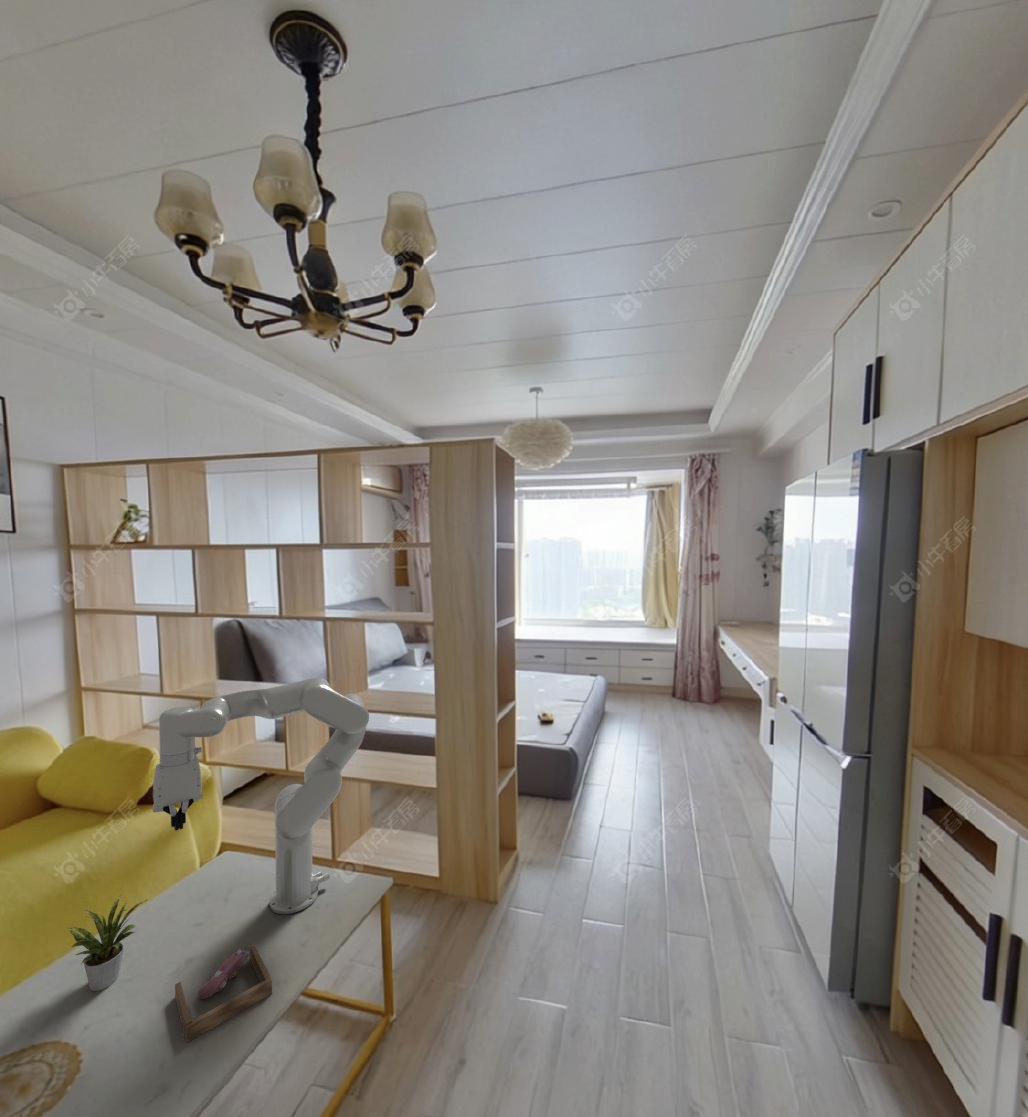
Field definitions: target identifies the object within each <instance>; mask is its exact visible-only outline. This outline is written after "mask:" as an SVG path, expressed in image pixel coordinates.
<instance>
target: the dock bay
mask: <svg viewBox="0 0 1028 1117" xmlns="http://www.w3.org/2000/svg"><path fill="white" fill-rule="evenodd" d="M249 960H250V962H251V963H252V966H253V968H254V970H255V972H256V974H257V977H258V979H259V981H260V982H259V983H258V984H256V985H254V986H252V987H250V988H249V989H246V990H245V991H243V992H241V993H239V994H238V995H236V996H234V997H232V998H231V999H229V1000H226V1001H225V1002H223V1003H221V1004H219V1005H218V1006H216V1007H214V1008H213V1009H210V1010H209V1011H207V1012H206V1013H203V1014H202V1015H200V1016H198V1017H197V1018H195V1019H191V1015H190V1010H189V1008H188V1004H187V1000H186V997H185V993H184V990H183V984H182V981H178V982H176V983H175V984H174V993H175V994H174V995H175V996H174V997H175V998H174V1000H175V1002H176V1006H177V1010H178V1014H179V1019H180V1022H181V1025H182V1026H181V1027H182V1029H183V1034H184V1036H185V1041H186V1043H189V1042H190V1041H192V1040H194V1039H195V1038H197V1037H200V1036H201V1035H202V1034H205V1033H206V1032H208V1031H209V1030H212V1029H213V1028H215V1027H217V1026H218V1025H220V1024H221V1023H224V1022H225V1021H227V1020H229V1019H230V1018H232V1017H235V1016H236V1015H237V1014H239V1013H241V1012H242V1011H244V1010H246V1009H248V1008H250V1007H251V1006H253V1005H255V1004H256V1003H258V1002H259V1001H261V1000H263V999H265V998H266V997H268V996H270V995H272V994H273V979H272V977H271V975H270V973H269V971H268V968H267V967H266V964H265V963H264V961H263V958H262V957H261V954H260V952H259V950H258V948H257V947H256V945H255V944H252V945H250V946H249Z"/></svg>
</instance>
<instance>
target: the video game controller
mask: <svg viewBox="0 0 1028 1117" xmlns="http://www.w3.org/2000/svg"><path fill="white" fill-rule="evenodd" d="M249 956H250V952H247V951H246V950H244V949H240V948H239V949H238V950H236V951H235V952H234V953H233V954H232V955H230V956H228V957H227V958H225V959H224V961H223V962H222V963H221V965H220V966H219V968H218V969H217V970H216V971H215V973H214V974H213V975H212V977H211V978H210V979H209V981H207V982H206V983H205V984H203V985H202V986H201V987H200V988H199V990H198V991H197V995H198V998H199V999H202V1000H205V999H208V998H210V997H212V996H213V995H214V994H215V993H217V992H219V993H220V992H221V991H222V990H223V989H224V988H225V987H226V984H227V983H228V979H229V980H232V979H233V978H235V977H236V976H237V973H238V972H239V970H240V969H241V967H242V966H243V964H244V963H245V962H246V960H247V959H248V957H249Z"/></svg>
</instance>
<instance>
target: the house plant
mask: <svg viewBox="0 0 1028 1117" xmlns="http://www.w3.org/2000/svg"><path fill="white" fill-rule="evenodd" d="M121 896H122V894H120V895H119V896H118V897H117V898H116V899H115V901H114V903H113V905H112V906H111V909H110V911H109V914H108V918H107V922H106V918H105V916H104V915H102V914H101V915H100V916H99V914H97V913H95V912H93V911H90V910H88V909H87V910H86V909H84V910H83V911H84V912H85V913H86V914H88V915H89V916H87V915H86V916H85V917H87V918H89V919H91V920H93V922H94V924H95V927H96V930H97V933H98V935H99V938H100V940H98V939H97V938H96V937H95V936H94V935H93V934H92V932H89V931H88V930H87V929H85V928H81V927H76V926H75V927H74V926H72V927H67V929H69V930H68V931H69V932H70V934H71V935H72V936H73V938H74V940H75V943H73V944H72V946H71V948H74V947H79V946H82V947H84V948H86V949H87V950H84V951H80V952H78V953H76V954H75V956H79V955H86V957H84V958H83V959H82V962H81V963H80V965H82V964H83V965H84V970H85V974H86V978H87V982H88V986H89V989H90V990H91V991H93V992H94V991H95V992H96V991H100V990H104V989H106V988H108V987H109V986H111V985H113V983H115V982H116V981H118V978H119V976H120V971H121V965H122V961H123V954H124V951H125V944H124V943H123V942H122V941H123V940H125V939H126V938H128V937H129V936H130V935H133V934H134V933H136V932H134V931H131V930H132V929H134V928H137V926H136V925H135V924H128V925H127V926H126V927H124V926H125V924H126V923H127V922H128V921H129V920H130V919H131V917H130V918H128V917H129V916H130V915H131V913H132V912H133V911H135V910H136V908H138V907H139V906H140V905H141V904H143V903H145V902H147V901H148V899H146V900H143V901H141V902H138V903H137V904H135V905H134V906H132V907H131V908H130V909H129V910H128V909H125V908H126V906H127V904H128V902H127V901H126V902H125V903H124V904H123V905H122V907H121V908H120V910H119V912H118V914H117V915H116V917H115V914H116V911H117V909H118V906H119V902H120V899H121ZM125 911H128V912H126V914H125V915H124V916H123V918H122V920H121V917H122V914H123V912H125ZM101 917H102V919H101ZM114 918H115V919H114ZM127 918H128V919H127ZM120 920H121V921H120ZM123 927H124V928H123ZM121 929H122V930H121ZM120 930H121V931H120ZM79 933H80V934H79ZM100 941H101V942H100Z"/></svg>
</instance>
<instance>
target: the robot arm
mask: <svg viewBox="0 0 1028 1117" xmlns="http://www.w3.org/2000/svg"><path fill="white" fill-rule="evenodd" d="M365 704H366V703H365V702H364V700H363V699H362V698H361V697H360V696H359V695H357V694H355V693H347V694H345V695H343V694H341V693H339V692H337V691H335V690H333V689H332V687H331V684H330V682H329V681H327V680H326V679H325V678H323V677H311V678H307V679H303V680H299V681H296V682H295V681H294V682H291V683H287V684H282V685H279V686H275V687H270V688H268V687H267V688H260V689H249V690H243V691H237V692H234V693H233V692H232V693H228V694H224V695H221V696H216V697H213V698H210V699H208V700H207V701H205V702H204V703H203V704H202V705H201V706H200V708H199V709H197V710H194V709H193V708H191V707H188V706H180V707H173V708H169V709H167V710H164V711H163V712H161V714H160V715H159V719H158V720H159V721H158V725H159V727H158V729H159V732H158V733H159V764H157V765H155V768H154V775H153V784H152V787H153V788H152V800H153V801H152V802H153V805H152V812H153V813H162V812H165V813H166V814H168V815H170V827H171V828H174V830H175V832H177V831H179V830H183V829H184V824H186V823H187V822H186V821H187V816H186V813H187V812H188V809H189V808H190V807H191V806H192V805H193V804H194V803H195V802H197V801H200V800H201V799H203V792H202V791H203V784H202V771H201V766H200V760H199V757H198V756H197V754H200V753H202V747H201V746H200V747H197V746H196V738H211V737H216V736H217V735H220V734H221V733H222V732H223V731H224V729H225V728H226V726H227V724H228V722H229V721H234V720H237V719H238V720H239V719H241V718H242V719H243V718H246V717H247V718H248V717H261V718H264V719H268V720H275V719H276V720H277V719H279V718H280V719H281V718H283V717H287V716H291V715H294V714H295V715H296V714H298V713H302V712H305V713H306V714H307V715H309V716H311V717H312V718H314V719H316V720H318V721H319V722H322V723H324V724H326V725H327V726H330V727H332V728H334V729H335V730H334V732H333V734H332V735H331V737H329V739H328V740H327V741H326V743H325V744H324V745H323V746H322V747H321V749H320V750H319V751H318V752H317V753H316V754H315V755H314V757H313V758H311V760H310V761H309V762H308V763H307V765H306V767H305V768H304V773H303V779H304V782H303V784H300V783H292V784H290V785H289V784H288V785H287V786H285V787H284V788H283V789H282V790H281V791H280V792H279V794H278V795H277V797H276V799H275V803H274V828H275V829H274V831H275V833H274V834H275V838H274V839H275V840H274V841H275V848H274V849H275V851H274V852H275V855H274V856H275V891H274V892H273V893H272V895H271V896H270V898H269V909H270V910H271V911H272V912H273V913H275V914H279V915H290V914H295V913H297V912H300V911H302V910H304V909H306V908H308V907H309V906H311V904H313V903H314V902H315V901H316V899H317V898H318V896H319V886H320V884H322V883H325V882H327V881H328V880H330V879H331V876H330V873H329V872H325V873H322V871H321V870H320V871H318V872H316V873H314V874H313V826H314V825H315V824H316V823H317V822H318V820H319V819H320V818H321V817H322V815H323V814H325V812H326V811H327V810H328V808H329V807H330V806H331V805H332V804H333V802H334V800H335V799H336V798H337V796H338V794H339V793H340V790H341V788H342V785H343V776H342V771H343V769H344V768H345V766H347V764H348V763H349V761H350V760H351V759H352V758H353V756H354V755H355V754H356V752H357V750H359V748H360V747H361V744H362V743H363V741H364V737H365V735H366V732H367V726H368V724H369V721H370V714H369V710H368V708H367V707H366V705H365ZM179 803H180V806H179V808H178V810H177V808H176V804H179Z"/></svg>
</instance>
